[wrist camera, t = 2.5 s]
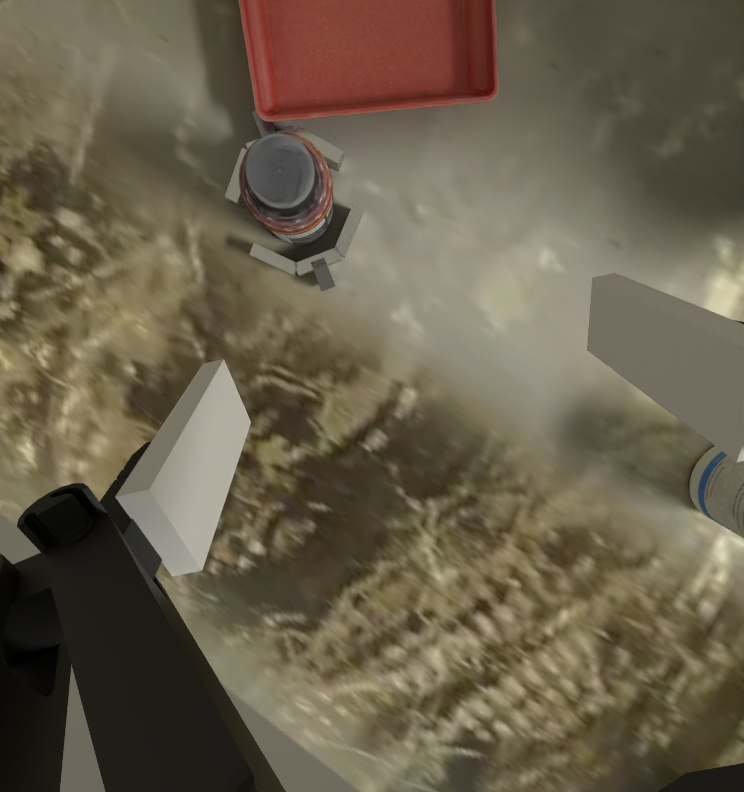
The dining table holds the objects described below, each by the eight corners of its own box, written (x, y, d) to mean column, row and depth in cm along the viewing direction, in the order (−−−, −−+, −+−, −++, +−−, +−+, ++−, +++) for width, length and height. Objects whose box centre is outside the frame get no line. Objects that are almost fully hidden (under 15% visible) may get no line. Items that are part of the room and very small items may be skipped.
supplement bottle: (253, 175, 33) (213, 117, 22) (326, 163, 33) (320, 100, 22) (270, 251, 35) (240, 232, 24) (339, 240, 35) (341, 215, 24)
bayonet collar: (321, 97, 32) (320, 84, 30) (381, 268, 36) (383, 267, 34) (205, 142, 32) (197, 132, 30) (276, 308, 36) (272, 309, 34)
